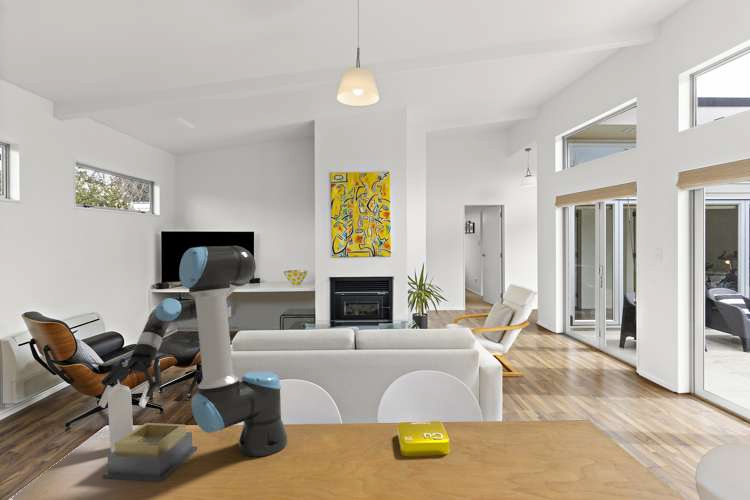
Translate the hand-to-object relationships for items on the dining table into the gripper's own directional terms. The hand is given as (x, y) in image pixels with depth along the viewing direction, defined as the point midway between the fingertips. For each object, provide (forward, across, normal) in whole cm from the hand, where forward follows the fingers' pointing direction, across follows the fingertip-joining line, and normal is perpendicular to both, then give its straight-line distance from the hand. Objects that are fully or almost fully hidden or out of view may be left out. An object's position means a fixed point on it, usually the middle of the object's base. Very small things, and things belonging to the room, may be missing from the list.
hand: (121, 406), depth 139 cm
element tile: (+7, -97, -12) cm, 98 cm away
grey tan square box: (+16, -16, -2) cm, 23 cm away
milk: (+11, -1, -8) cm, 14 cm away
